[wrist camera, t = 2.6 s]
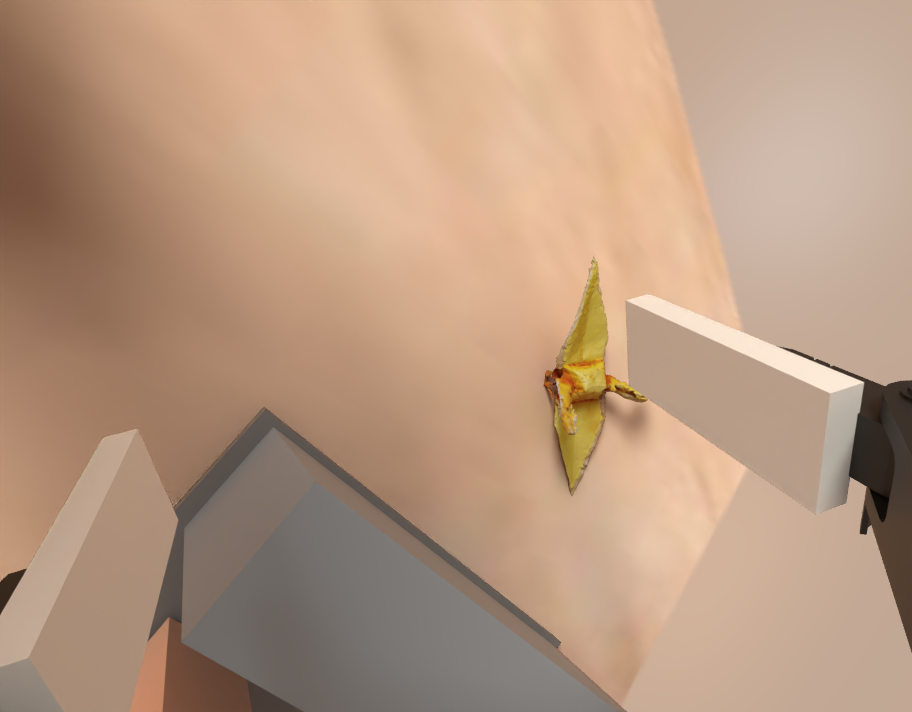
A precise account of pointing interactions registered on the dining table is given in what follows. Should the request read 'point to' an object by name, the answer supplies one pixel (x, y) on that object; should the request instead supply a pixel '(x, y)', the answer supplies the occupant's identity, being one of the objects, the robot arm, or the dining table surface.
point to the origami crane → (584, 382)
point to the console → (345, 597)
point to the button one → (185, 678)
